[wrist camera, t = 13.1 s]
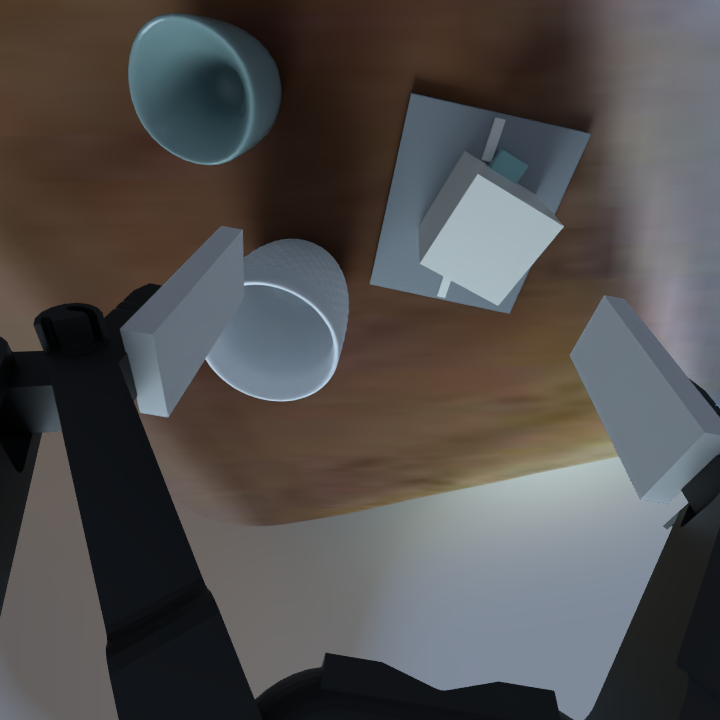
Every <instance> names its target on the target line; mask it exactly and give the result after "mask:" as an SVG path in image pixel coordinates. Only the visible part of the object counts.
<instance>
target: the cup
mask: <svg viewBox="0 0 720 720" xmlns="http://www.w3.org/2000/svg"><path fill="white" fill-rule="evenodd" d="M128 76H129V88H130V93H131V98H132V102H133V104H134V107H135V110H136V113H137V115H138V117H139V119H140V121H141V123H142V124H143V126H144V128H145V129H146V130H147V131H148V133H149V134H150V135H151V136H152V138H153V139H154V140H156V141H157V142H158V143H159V144H160V145H161V146H162V147H163V148H165V149H166V150H168V151H169V152H171V153H172V154H174V155H176V156H178V157H180V158H182V159H184V160H187V161H190V162H193V163H196V164H204V165H217V164H223V163H226V162H228V161H231V160H234V159H236V158H238V157H239V156H241V155H243V154H244V153H246V152H247V151H249V150H250V149H251V148H253V147H254V146H255V145H257V144H258V143H259V142H261V141H262V140H263V139H264V138H265V136H266V135H267V134H268V133H269V131H270V130H271V129H272V127H273V125H274V123H275V121H276V119H277V116H278V112H279V109H280V104H281V97H282V85H281V79H280V73H279V70H278V68H277V65H276V62H275V61H274V59H273V57H272V55H271V54H270V52H269V51H268V50H267V49H266V48H265V46H264V45H263V44H262V43H261V42H260V41H259V40H257V39H256V38H255V37H254V36H253V35H251V34H250V33H248V32H247V31H245V30H243V29H241V28H239V27H238V26H236V25H233V24H230V23H227V22H224V21H221V20H218V19H215V18H211V17H206V16H200V15H194V14H185V13H169V14H162V15H159V16H157V17H155V18H153V19H151V20H149V21H148V22H147V23H146V24H145V25H144V26H143V27H142V28H141V29H140V30H139V32H138V34H137V36H136V38H135V39H134V41H133V45H132V48H131V52H130V57H129V66H128Z"/></svg>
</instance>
